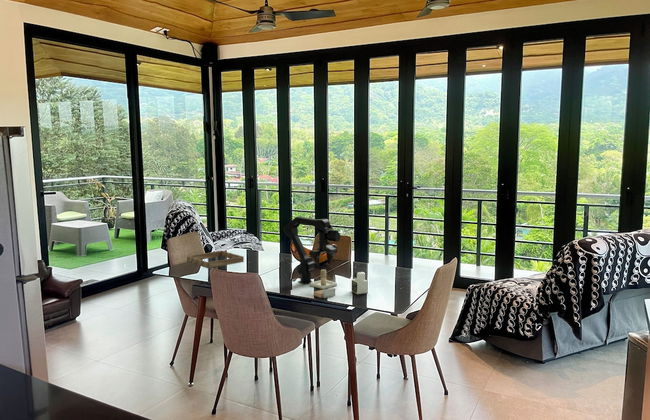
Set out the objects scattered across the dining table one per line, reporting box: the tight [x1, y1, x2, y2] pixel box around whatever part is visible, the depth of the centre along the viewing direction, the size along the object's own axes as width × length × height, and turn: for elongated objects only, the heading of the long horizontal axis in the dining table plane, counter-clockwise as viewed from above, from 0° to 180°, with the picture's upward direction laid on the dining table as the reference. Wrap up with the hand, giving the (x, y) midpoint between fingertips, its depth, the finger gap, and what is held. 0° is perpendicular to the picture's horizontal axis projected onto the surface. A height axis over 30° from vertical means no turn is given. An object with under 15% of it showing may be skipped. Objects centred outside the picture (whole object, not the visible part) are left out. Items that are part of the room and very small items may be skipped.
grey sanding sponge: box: [322, 287, 336, 299], centre depth 279 cm, size 2×8×4 cm, turn 134°
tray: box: [309, 279, 338, 290], centre depth 301 cm, size 12×12×2 cm
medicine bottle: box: [351, 270, 369, 295], centre depth 287 cm, size 7×7×12 cm
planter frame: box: [186, 250, 245, 269], centre depth 364 cm, size 29×29×4 cm
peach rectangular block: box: [313, 289, 324, 298], centre depth 282 cm, size 6×7×2 cm
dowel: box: [320, 269, 327, 286], centre depth 301 cm, size 3×3×9 cm
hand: (323, 265), depth 300 cm, fingers open, 9 cm apart
